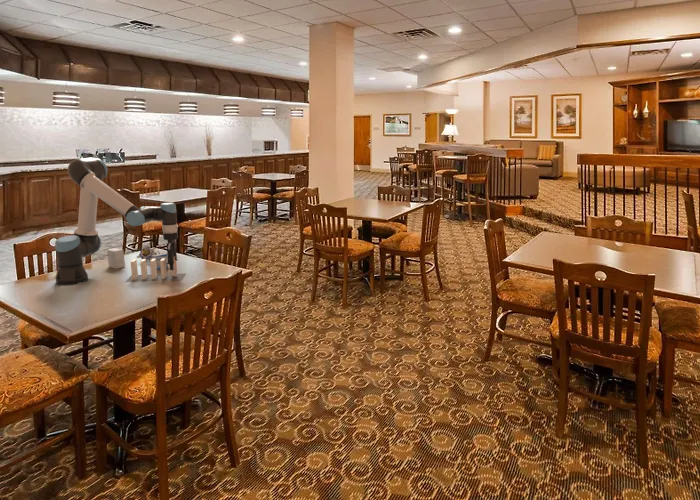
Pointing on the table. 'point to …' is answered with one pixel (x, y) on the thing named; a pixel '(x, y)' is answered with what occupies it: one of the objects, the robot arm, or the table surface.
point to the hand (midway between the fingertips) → (173, 273)
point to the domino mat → (157, 278)
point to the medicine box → (159, 257)
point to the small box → (116, 258)
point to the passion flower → (147, 253)
